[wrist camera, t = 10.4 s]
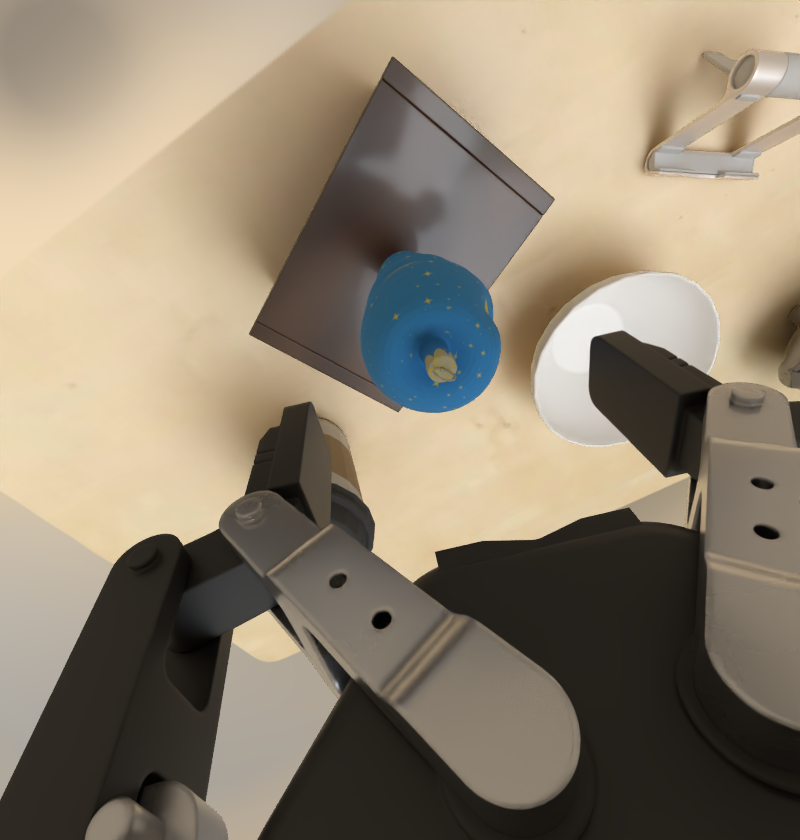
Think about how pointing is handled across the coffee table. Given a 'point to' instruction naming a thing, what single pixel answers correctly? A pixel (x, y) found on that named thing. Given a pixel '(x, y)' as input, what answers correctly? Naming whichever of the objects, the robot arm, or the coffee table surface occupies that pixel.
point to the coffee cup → (346, 489)
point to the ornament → (429, 333)
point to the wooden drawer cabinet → (395, 222)
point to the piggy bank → (792, 355)
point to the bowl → (609, 312)
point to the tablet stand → (745, 86)
